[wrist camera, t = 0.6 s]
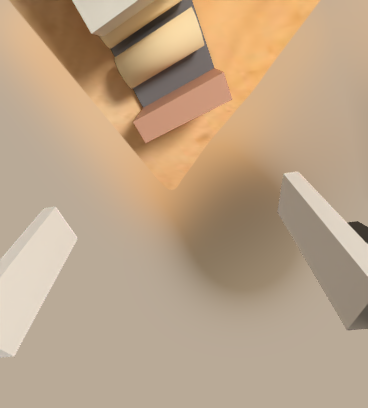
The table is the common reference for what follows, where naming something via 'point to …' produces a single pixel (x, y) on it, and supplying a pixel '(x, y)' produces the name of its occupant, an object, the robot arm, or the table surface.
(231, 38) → the table surface
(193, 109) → the stop block
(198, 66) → the roller bed
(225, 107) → the table surface
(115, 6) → the slab
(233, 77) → the table surface
